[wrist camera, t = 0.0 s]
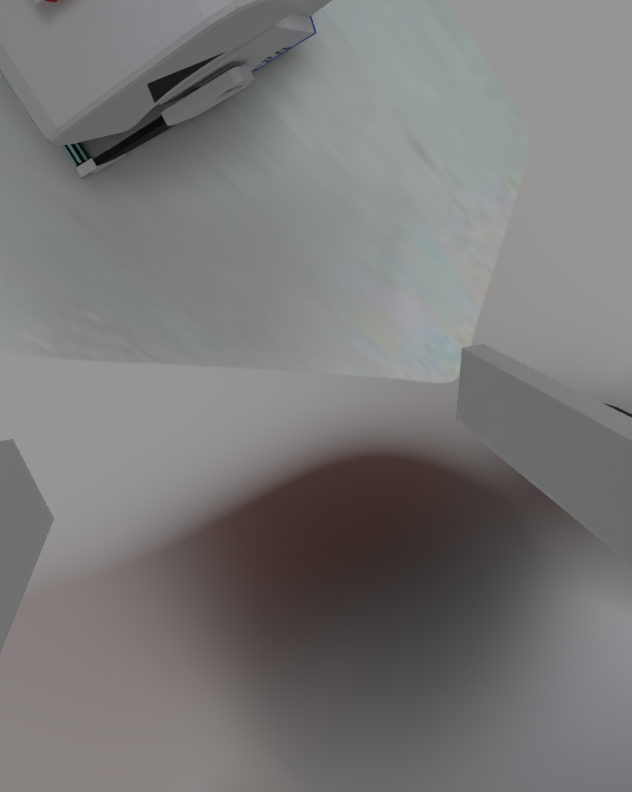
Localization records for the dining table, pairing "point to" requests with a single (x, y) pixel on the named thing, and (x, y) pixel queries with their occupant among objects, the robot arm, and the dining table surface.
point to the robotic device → (137, 61)
